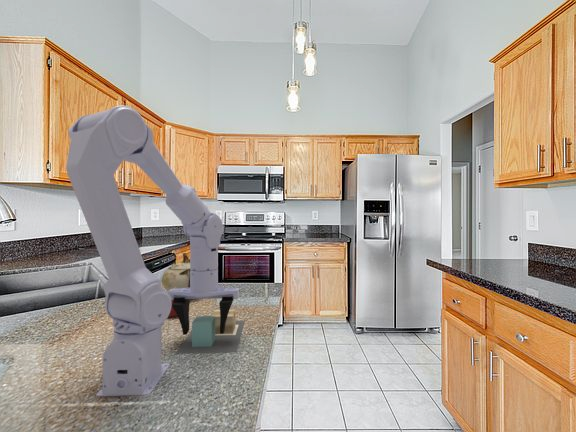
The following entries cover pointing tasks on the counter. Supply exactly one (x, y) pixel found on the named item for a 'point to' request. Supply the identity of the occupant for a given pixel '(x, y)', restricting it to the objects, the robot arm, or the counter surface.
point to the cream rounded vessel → (177, 275)
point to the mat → (215, 342)
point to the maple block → (229, 322)
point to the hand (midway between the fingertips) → (204, 332)
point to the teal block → (203, 331)
